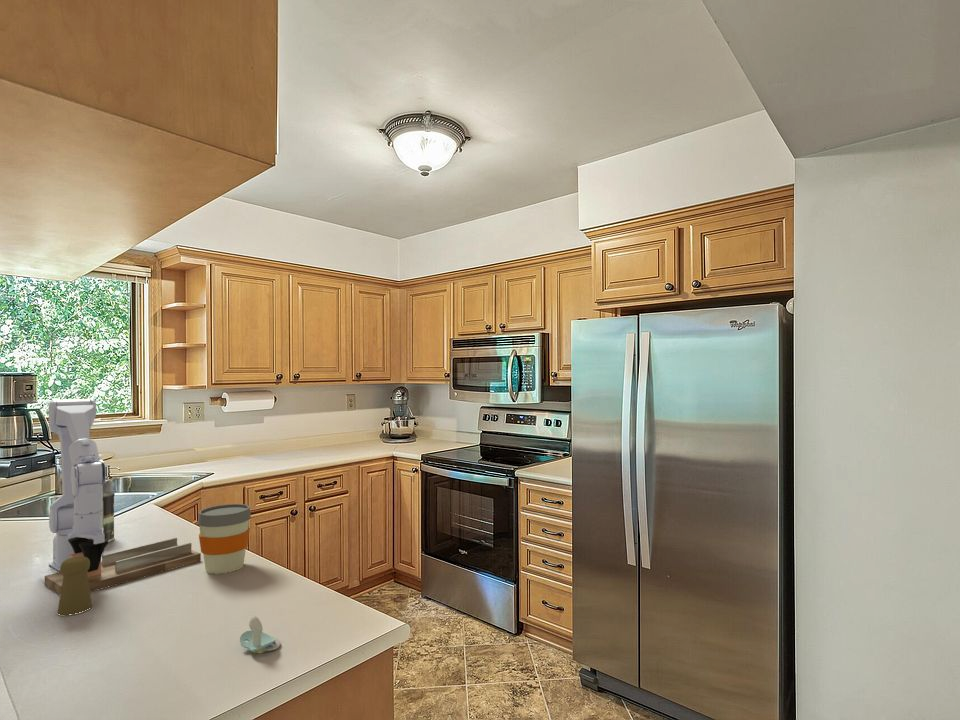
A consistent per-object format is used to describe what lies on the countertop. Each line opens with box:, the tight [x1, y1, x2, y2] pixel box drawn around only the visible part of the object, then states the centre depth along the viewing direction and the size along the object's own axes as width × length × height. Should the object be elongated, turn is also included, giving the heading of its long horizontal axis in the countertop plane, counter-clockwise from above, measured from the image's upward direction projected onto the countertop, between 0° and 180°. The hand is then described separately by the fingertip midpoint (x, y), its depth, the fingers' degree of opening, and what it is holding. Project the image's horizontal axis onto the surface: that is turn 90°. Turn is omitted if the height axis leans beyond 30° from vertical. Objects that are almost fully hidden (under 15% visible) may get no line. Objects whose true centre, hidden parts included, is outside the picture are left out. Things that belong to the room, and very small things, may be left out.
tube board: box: [44, 537, 202, 595], centre depth 139 cm, size 15×30×4 cm, turn 144°
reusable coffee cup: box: [197, 503, 252, 575], centre depth 141 cm, size 13×13×15 cm
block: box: [69, 552, 102, 577], centre depth 132 cm, size 5×5×5 cm
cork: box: [57, 556, 93, 615], centre depth 117 cm, size 6×6×11 cm
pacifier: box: [239, 615, 281, 654], centre depth 99 cm, size 7×6×6 cm
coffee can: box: [102, 491, 115, 543], centre depth 165 cm, size 10×10×14 cm
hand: (88, 568), depth 132 cm, fingers closed on block, 5 cm apart
